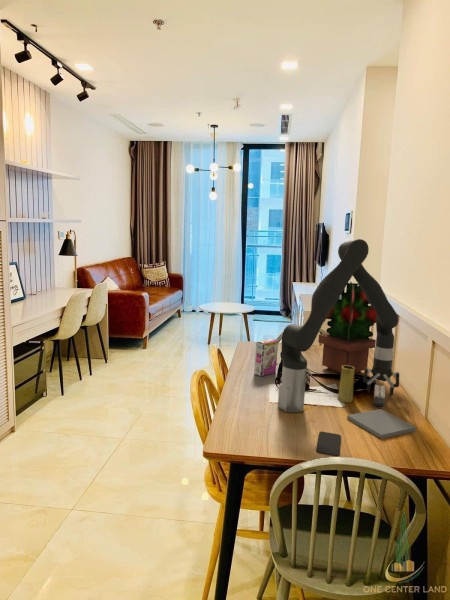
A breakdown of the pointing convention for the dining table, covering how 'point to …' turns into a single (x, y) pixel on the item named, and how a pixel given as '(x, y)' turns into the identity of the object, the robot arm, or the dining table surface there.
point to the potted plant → (349, 331)
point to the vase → (346, 384)
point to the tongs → (379, 396)
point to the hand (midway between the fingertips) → (379, 394)
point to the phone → (328, 444)
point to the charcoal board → (381, 423)
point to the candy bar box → (266, 357)
